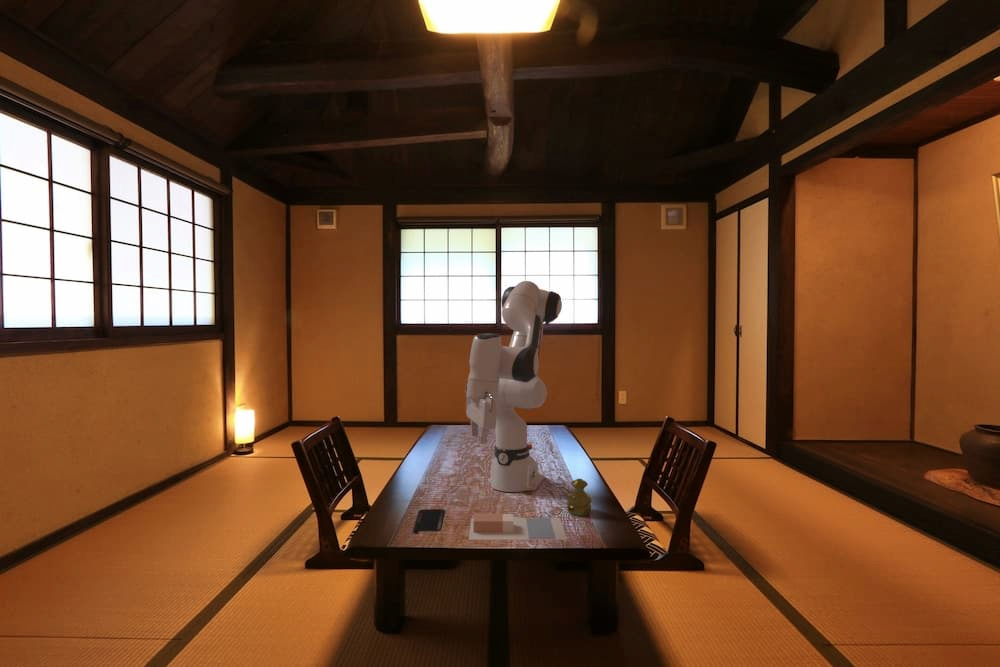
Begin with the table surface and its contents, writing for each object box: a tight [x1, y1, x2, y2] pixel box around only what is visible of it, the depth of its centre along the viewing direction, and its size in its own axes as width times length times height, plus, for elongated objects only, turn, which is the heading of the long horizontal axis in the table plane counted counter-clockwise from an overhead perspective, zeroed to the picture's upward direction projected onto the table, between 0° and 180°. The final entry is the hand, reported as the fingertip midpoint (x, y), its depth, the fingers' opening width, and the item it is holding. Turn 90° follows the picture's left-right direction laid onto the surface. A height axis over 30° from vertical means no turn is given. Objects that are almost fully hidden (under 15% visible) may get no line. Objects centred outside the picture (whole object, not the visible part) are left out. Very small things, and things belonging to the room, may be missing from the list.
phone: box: [412, 508, 446, 534], centre depth 142 cm, size 8×1×15 cm
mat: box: [468, 517, 568, 541], centre depth 137 cm, size 14×26×1 cm, turn 90°
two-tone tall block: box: [473, 513, 514, 532], centre depth 137 cm, size 11×5×3 cm, turn 90°
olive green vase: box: [566, 478, 593, 517], centre depth 150 cm, size 7×7×10 cm
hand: (478, 439), depth 138 cm, fingers open, 8 cm apart
